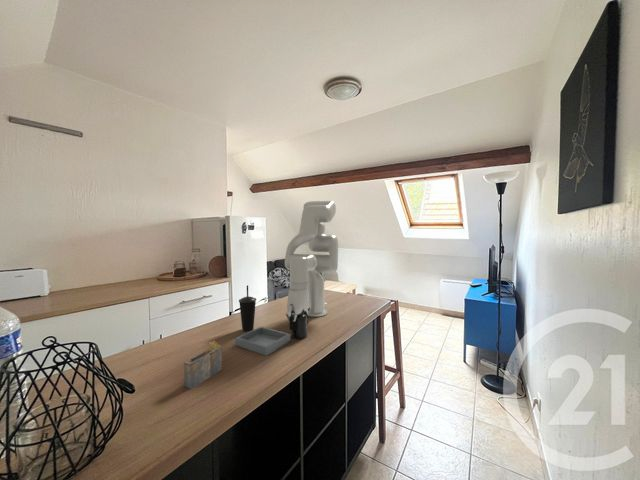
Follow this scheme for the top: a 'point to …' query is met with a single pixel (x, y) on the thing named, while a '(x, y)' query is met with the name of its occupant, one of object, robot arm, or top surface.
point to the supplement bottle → (300, 326)
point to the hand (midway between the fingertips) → (299, 326)
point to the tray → (263, 340)
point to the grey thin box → (203, 366)
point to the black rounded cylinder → (247, 312)
